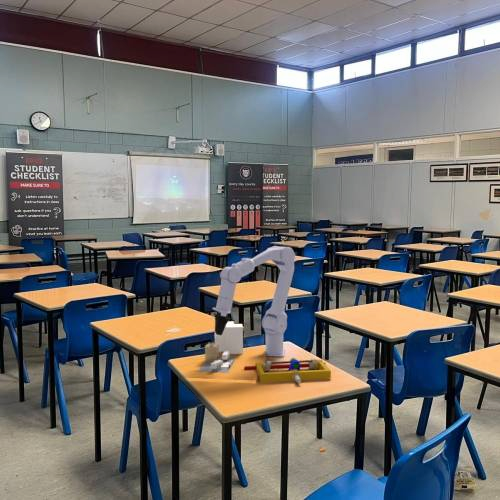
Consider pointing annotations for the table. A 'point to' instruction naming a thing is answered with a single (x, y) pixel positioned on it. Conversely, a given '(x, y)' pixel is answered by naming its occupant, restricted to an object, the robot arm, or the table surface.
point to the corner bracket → (231, 338)
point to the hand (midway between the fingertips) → (218, 333)
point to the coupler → (211, 352)
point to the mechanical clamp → (291, 370)
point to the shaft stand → (219, 364)
